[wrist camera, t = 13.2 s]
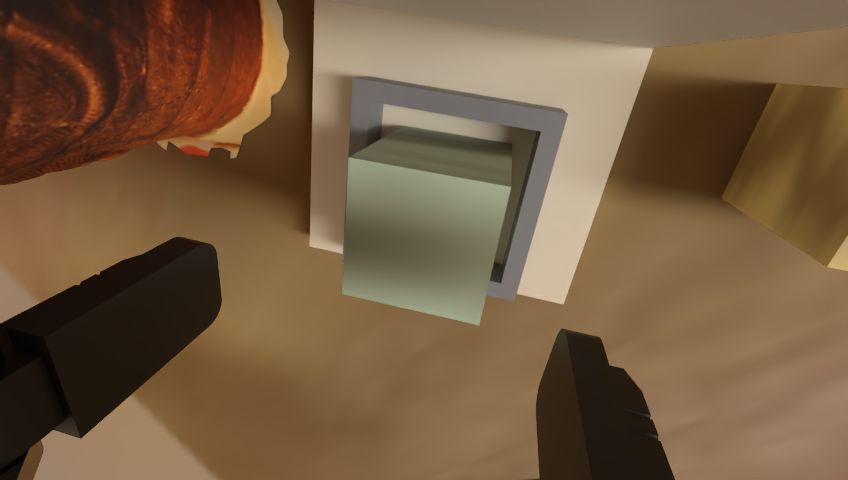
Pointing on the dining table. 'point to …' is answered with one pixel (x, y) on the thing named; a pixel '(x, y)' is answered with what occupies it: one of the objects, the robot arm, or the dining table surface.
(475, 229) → the sage block
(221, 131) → the vessel
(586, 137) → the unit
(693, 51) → the dining table surface
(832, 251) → the mustard block
